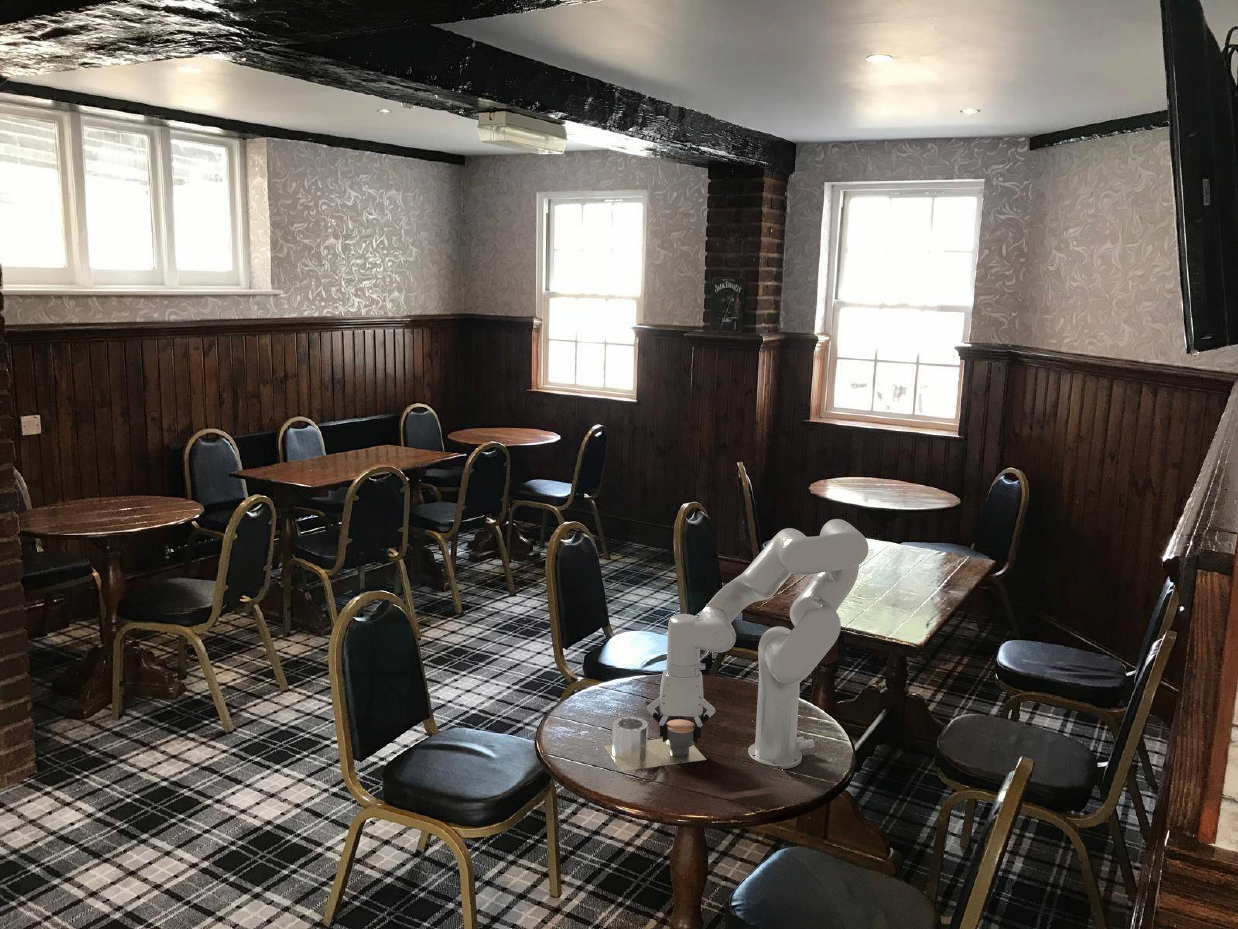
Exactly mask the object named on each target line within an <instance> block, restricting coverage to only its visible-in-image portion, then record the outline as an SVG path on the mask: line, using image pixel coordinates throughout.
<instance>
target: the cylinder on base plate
mask: <svg viewBox="0 0 1238 929" xmlns="http://www.w3.org/2000/svg"><path fill="white" fill-rule="evenodd" d="M611 738H612V741H611V743H612V744H609V745H603V748H604V749H605V750H606V752H607V753H608V755H609V756H610V757H611V759H612V760H613V762H614V763H615V764H616V766H617V767H618V769H619V771H620V772H627V771H632V770H640V769H648V768H649V769H650V768H655V767H656V768H657V767H664V766H671V765H677V764H684V763H693V762H699V761H706V760H707V758H706V757H705V756H704V755H703V754H702V753H701V752H700V751H699V749H698V748H697V747H696V746H695V744H693V745H692V746H691V747H689V756H687V757H685V758H675V757H673V756H671V755H670V746H669V745H668V744H666V742H663V738H662V737H661V738H656V739H648V738H649V723H648V722H647V721H646V720H645V719H643V718H641V717H638V716H628V715H627V716H620V717H618V718H617V719H614V721H613V723H612V737H611Z"/></svg>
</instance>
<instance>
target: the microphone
mask: <svg viewBox="0 0 1238 929" xmlns="http://www.w3.org/2000/svg"><path fill="white" fill-rule="evenodd" d="M651 702H652V701H647V700H645V704H646V705H647V706H648V705H649V704H650V703H651ZM655 710H656V711H657V712H658V713H659V714H660V715H661V713H660V706H657V707H656V708H655ZM676 719H681V720H686V719H685V716H669V717H668V718H667V720H666V723H667V722H669V721H671V720H676Z"/></svg>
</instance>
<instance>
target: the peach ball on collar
mask: <svg viewBox="0 0 1238 929" xmlns="http://www.w3.org/2000/svg"><path fill="white" fill-rule="evenodd" d="M694 734H695V725H694V722H692V721H690V720H686V719H685V720H681V719H676V720H671V721H669V722H667V723H666V741H665V742H666V744H668V745H669V746H670V755H671V756H673V757H675V758H685V757H687V756H689V747H691V746H692V745H695V742H694Z"/></svg>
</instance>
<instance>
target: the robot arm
mask: <svg viewBox="0 0 1238 929" xmlns="http://www.w3.org/2000/svg"><path fill="white" fill-rule="evenodd" d="M869 548H870V547H869V543H868V541H867V539H866V537H865V536H864V534H862V532H860V530H858V529H857V528H855V527H854V525H852V524H851V523H849V522H847V521H846V520H844V519H840V518H835V519H834V518H833V519H831V520H828V521H827V522H826V523H825V524H824V525H823V526H822V528H821V530H820V533H819V535H818V536H817V535H815V536H807V535H805V533H803V532H802V531H800V530H798V529H795V528H791V527H790V528H789V527H787V528H784V529H781V530H780V531H778V533H776V535H774V536H773V537H772V539H771V540H769V542H768V543H767V545H766V546H765V547H764V548H763V549H762V550H761V551H760V553H759V554H758V555H757V556H756V557H755V559H754V560H752V562H751V563H750V564H749V566H748V567H747V568H746V569H745V570H744V571H743V572H742V573H741V574H740V575H738V576H737V577H735V578H734V579H733V580H731V581H729V582H728V583H726V585H724V586H723V587H722V588H720V589H719V590H718V592H716V593H715V595H714V596H713V597H712V598H710V599H711V600H710V601H709V602H708V603H706V605H705V607H704V608H703V609H702V610H701V612H700V614H699V616H698V617H697V616H695V615H693V614H689V613H678V614H673V615H672V616H670V618H669V620H668V624H667V646H666V647H667V648H666V669H664V670H663V672H662V675H661V680H660V687H659V696H658V697H657V698H656V699H654V700H653V701H650V702H651V703H650V704H649V705H647V706H646V710H647V712H648V713H649V714H650V715H651V716H652V718H653V719H654V720H655V721H656V722H657V723H658V724H659V737H661V739H662V738H663V742H665V741H666V720H667V718H668V717H669V716H684V717H693V719H694V721H695V722H693V724H694V725H695V734H694V744H698V739H700V738H701V737H702V736H701V734H702V733H701V731H702V727H703V725H705V723H707V722H708V721H709V719H710V718H711V717H712V716H713V715H714V714H715V713H716V708H715V707H714V706H713V705H712V704H710V702H709V701H707V700H706V699H705V697H704V681H703V673H702V672H701V671H702V670H706V663H703V662H701V661H700V654H701V651H706V652H712V653H724V652H728V651H730V650H731V649H732V648H733V647H734V645H735V643H736V639H737V634H736V631H735V629H734V627H733V625H732V622H734V619H736V618H737V617H738V615H739V614H740V613H741V612H742V611H743V610H744V609H746V608H747V607H748V606H750V605H752V604H754V603H756V602H760V601H761V602H762V601H766V600H769V599H771V598H772V597H773V596H774V595H775V594H776V593H777V592H778V590H779V589H780V588H781V587H782V586H783V585H784V583H786V581H787V580H788V579H789V578H790V577H791V575H798V576H806V575H807V576H809V575H814V574H815V575H814V577H813V578H812V579H811V580H810V582H809V583H808V584H807V585H806V587H805V588H804V589H803V590H802V592H801V593H800V594H799V595H798V596H797V598H796V599H795V600H794V602H793V603H792V605H791V607H790V609H789V618H790V621H791V623H792V625H793V626H794V627H793V628H792V629H789V628H787V627H785V626H773V627H771V628H768V629H767V630H766V631H765V632H763V634H762V636H761V638H760V640H759V643H758V649H757V650H758V652H757V654H758V655H757V656H758V688H757V689H758V690H757V704H756V705H757V706H756V723H755V739H754V740H755V742H754V743H753V744H751V745H749V747H748V749H747V752H748V755H749V756H750V758H752V759H753V760H755V761H756V762H759V763H760V764H764V765H768V766H773V767H779V768H781V770H785V769H786V770H787V769H791V768H794V767H797V766H799V765H800V764H801V762H802V759H803V755H802V752H801V751H803V750H804V749H811V748H815V746H816V744H815V741H814V740H813V739H812V738H811V739H805V738H804V736H798V737H797V734H798V718H799V717H798V716H799V705H800V704H799V702H800V701H799V700H800V690H801V689H800V688H801V687H800V685H801V684H800V683H801V682H802V681H804V680H805V679H806V678H807V677H808V676H809V675H810V674H811V673H812V672H813V671H814V670H815V668H816V667H817V666H818V664H819V663H821V661H822V660H823V658H824V657H825V656H826V655H827V653H828V652H829V651H830V650H831V649H832V647H833V646H834V644H835V643H836V641H837V640H838V637H839V636H840V633H841V629H842V628H841V627H842V622H841V618H840V615H839V613H838V612H837V611H838V609H839V608H840V606H841V605H842V604H843V602H844V601H845V600H846V598H847V597H848V595H849V594H850V592H851V591H852V590H853V588H854V586H855V584H856V582H857V579H858V575H859V570H860V565H862V563H863V562H865V560H866V559H867V557H868V554H869ZM657 706H660V713H661V715H660V714H659V713H658V712H657V711H656V710H655V708H656V707H657ZM704 709H706V711H705V712H704ZM703 712H704V713H703Z"/></svg>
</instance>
